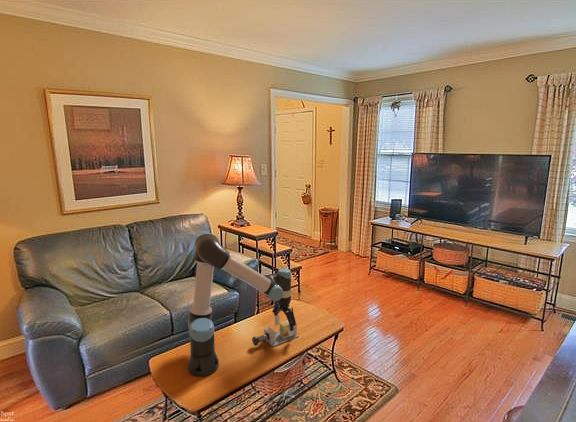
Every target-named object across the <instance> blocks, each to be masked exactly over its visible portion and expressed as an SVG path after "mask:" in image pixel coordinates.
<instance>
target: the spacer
mask: <svg viewBox="0 0 576 422" xmlns="http://www.w3.org/2000/svg"><path fill="white" fill-rule="evenodd" d="M288 326H289V323H288V322H286V320H284V321H282V322H279V331H280V335H281V336H282V337H286V336H288Z"/></svg>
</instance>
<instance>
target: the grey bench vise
mask: <svg viewBox="0 0 576 422" xmlns="http://www.w3.org/2000/svg"><path fill="white" fill-rule="evenodd" d="M285 321H286V322H288V320H285ZM288 323H289V322H288ZM297 327H298V324H297V323H296V325H295V326H294V327H293V335H292V336H286V337H282V336H281V335H280V330H277V331H275V330H273V329H272V328H271V327H270V326H268V327H267V326H266V327H264V329H263V330H264V331H263V332H264V334H263V335H265V334H267V333H268V334H269V339H267V340H265V341H264V342H266V343H268V344H269V345H270V346H271V347H272V348H275V347H277V346H279V345H282V344H285V343H287V342H289V341H292V340H293V339H296V338H299V334H297V333H298V328H297Z"/></svg>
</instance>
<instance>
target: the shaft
mask: <svg viewBox="0 0 576 422" xmlns="http://www.w3.org/2000/svg"><path fill="white" fill-rule="evenodd" d="M267 339H269V334H268V333H267V334H265V335H264V334H262V335H260V336H253V337H252V339H251V341H252V344H253V346H255V347H256V346H258V345H259V343H262V342H266V341H265V340H267Z"/></svg>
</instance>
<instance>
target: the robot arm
mask: <svg viewBox="0 0 576 422" xmlns="http://www.w3.org/2000/svg"><path fill="white" fill-rule="evenodd" d="M194 247H195V250H194V261H195V262H196V273H195V283H194V292H193V293H194V294H193V303H192V306H191V307H189V311H188V315H187V322H186V323H187V325H188V326H187V327H188V335H189V343H190V344H189V346H190V347H189V348H190V355H189V360H188V362H187V371H188V374H190V375H192V376H194V377H207V376H209V375H211V374H214V373H215V372H216V371H218V369H219V366H220V363H219V362H220V360H219V357H218V354H217V353H216V350H215V348H216V347H215V345H216V344H215V343H216V342H215V325H214V323H213V321H212V318H213V317H212V315H213V308H212V307H211V305H210V304H211V297H212V291H213V288H212V287H213V279H214V270H215V269H217V270H219V271H225V272H226V273H228V274H230V275H231V276H233V277H235V278H237V279H238V280H241V281H242V282H244V283H245V284H247V285H249V286H251V287H252V288H254V289H256V290H257V291H260V292H261V293H263V294H264V295H265V296H267V297H268V298H269V299H271V301H272V302H273V301H274V306H273V309H272V311H271V312H272V313H273V315H274V326H275V327H277V326H280V312H283V314H284V315H285V316H286V319H287V320H288V322H289V326H288V336H292V335H293V327H294V326H295V325H296V324H297V322H296V318H295V314H294V308H293V306H292V307H290V305H291V300H292V298H291V297H292V296H291V294H292V271H291V270H290V269H289V268H279V269H278V270H277V273H271V274H262V273H260V272H258V271H257V270H255V269H254V268H252V267H250V266H248V265H247V264H245V263H244V262H242V261H241V260H239V259H237V258H235V257H234V256H232V254H231V252H229V251H228V250H227V249H225V248H224V247H223V246H222V245H221V243H220V241H219V239H218V237H217V236H216V235H215V234H213V233H210V232H204V233H201V234H199V235H198V236H197V237H196V239H195V242H194Z"/></svg>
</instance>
